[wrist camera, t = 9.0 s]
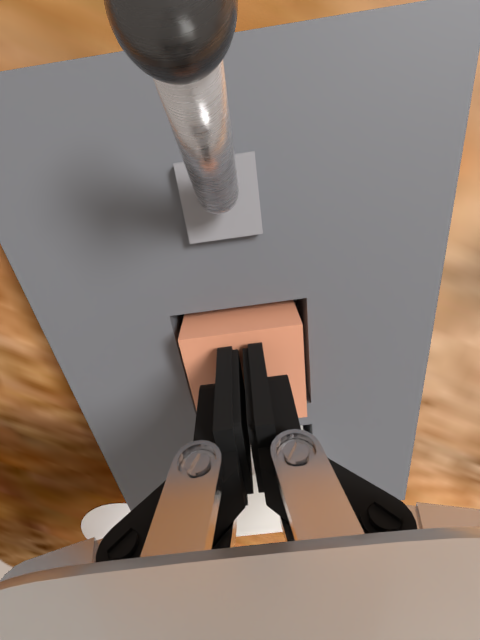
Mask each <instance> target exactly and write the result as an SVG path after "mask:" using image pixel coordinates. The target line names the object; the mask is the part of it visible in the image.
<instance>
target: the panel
mask: <svg viewBox="0 0 480 640" xmlns="http://www.w3.org/2000/svg"><path fill="white" fill-rule="evenodd" d="M479 48H480V0H426V1H420V2H414V3H408V4H402V5H396V6H390V7H384V8H378V9H372V10H366V11H360V12H354V13H348V14H342V15H336V16H330V17H324V18H318V19H312V20H306V21H300V22H294V23H288V24H282V25H276V26H271V27H265V28H259V29H253V30H247V31H241V32H235V33H234V35H233V39H232V42H231V45H230V47H229V49H228V52H227V53H226V55H225V57H224V58H223V65H224V73H225V81H226V89H227V97H228V106H229V114H230V122H231V130H232V139H233V147H234V155H235V163H236V172H237V180H238V188H239V195H238V200H237V202H236V204H235V205H234V207H233V208H232V209H231V210H230V211H228V212H226V213H223V214H212V213H209V212H207V211H206V210H205V209H203V208H202V207H201V205H200V204H199V202H198V200H197V197H196V195H195V192H194V189H193V186H192V184H191V181H190V178H189V175H188V173H187V170H186V167H185V164H184V162H183V159H182V156H181V154H180V151H179V148H178V145H177V143H176V140H175V137H174V134H173V132H172V129H171V126H170V123H169V121H168V118H167V115H166V113H165V110H164V107H163V104H162V102H161V99H160V96H159V93H158V91H157V88H156V85H155V82H154V80H153V77H151V76H149V75H147V74H146V73H145V72H143V71H142V70H141V69H140V68H138V67H137V66H136V65H135V64H134V63H133V62H132V60H131V59H130V58H129V57H128V56H127V55H126V53H125V52H124V51H121V52H115V53H109V54H103V55H97V56H91V57H85V58H79V59H73V60H67V61H61V62H55V63H49V64H43V65H37V66H31V67H25V68H19V69H13V70H7V71H1V72H0V244H1V246H2V248H3V250H4V252H5V254H6V256H7V258H8V260H9V262H10V264H11V266H12V268H13V271H14V273H15V275H16V277H17V279H18V281H19V283H20V285H21V287H22V289H23V291H24V293H25V295H26V297H27V299H28V301H29V303H30V305H31V307H32V310H33V312H34V314H35V316H36V318H37V320H38V322H39V324H40V326H41V328H42V330H43V332H44V334H45V336H46V338H47V340H48V342H49V344H50V346H51V349H52V351H53V353H54V355H55V357H56V359H57V361H58V363H59V365H60V367H61V369H62V371H63V373H64V375H65V377H66V379H67V381H68V383H69V386H70V388H71V390H72V392H73V394H74V396H75V398H76V400H77V402H78V404H79V406H80V408H81V410H82V412H83V414H84V416H85V418H86V420H87V422H88V425H89V427H90V429H91V431H92V433H93V435H94V437H95V439H96V441H97V443H98V445H99V447H100V449H101V451H102V453H103V455H104V457H105V459H106V461H107V464H108V466H109V468H110V470H111V472H112V474H113V476H114V478H115V480H116V482H117V484H118V486H119V488H120V490H121V492H122V494H123V496H124V498H125V500H126V503H127V505H128V507H129V509H130V511H132V510H133V509H134V508H135V507H136V506H137V505H138V504H140V503H141V502H142V501H143V500H144V499H145V498H146V497H147V496H149V495H150V494H151V493H152V492H153V491H154V490H155V489H156V488H158V487H159V486H160V485H161V484H162V483H163V482H164V481H165V480H166V479H167V476H168V473H169V470H170V467H171V464H172V461H173V459H174V457H175V455H176V453H177V452H178V451H179V450H180V449H181V448H182V447H183V446H185V445H186V444H188V443H191V442H193V439H194V430H195V421H196V413H197V411H196V407H195V404H194V400H193V396H192V392H191V389H190V385H189V381H188V377H187V373H186V370H185V366H184V362H183V358H182V355H181V351H180V347H179V343H178V337H179V333H180V330H181V326H182V322H183V318H184V314H189V313H197V312H204V311H212V310H219V309H227V308H235V307H242V306H250V305H257V304H265V303H272V302H280V301H287V300H293V301H294V303H295V306H296V308H297V311H298V314H299V316H300V319H301V321H302V324H303V342H304V361H305V381H306V400H307V417H302V418H298V419H299V423H300V425H303V429H304V431H307V432H309V433H311V434H312V435H314V436H315V437H316V438H317V439H318V441H319V442H320V444H321V446H322V448H323V450H324V452H325V454H326V456H327V458H329V459H331V460H332V461H334V462H336V463H338V464H339V465H341V466H343V467H344V468H346V469H348V470H350V471H351V472H353V473H355V474H356V475H358V476H360V477H362V478H363V479H365V480H367V481H369V482H370V483H372V484H374V485H375V486H377V487H379V488H381V489H382V490H384V491H386V492H387V493H389V494H391V495H393V496H394V497H396V498H397V499H399V500H405V494H406V488H407V482H408V476H409V470H410V464H411V458H412V452H413V446H414V440H415V434H416V428H417V422H418V416H419V410H420V404H421V398H422V392H423V386H424V380H425V374H426V368H427V362H428V356H429V350H430V344H431V337H432V331H433V325H434V319H435V313H436V307H437V301H438V295H439V289H440V283H441V277H442V271H443V265H444V259H445V253H446V247H447V241H448V235H449V229H450V223H451V217H452V211H453V205H454V199H455V193H456V187H457V181H458V175H459V169H460V163H461V157H462V151H463V145H464V139H465V133H466V127H467V121H468V115H469V109H470V103H471V97H472V91H473V85H474V79H475V73H476V67H477V61H478V54H479Z"/></svg>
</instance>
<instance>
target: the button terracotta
mask: <svg viewBox="0 0 480 640" xmlns="http://www.w3.org/2000/svg"><path fill="white" fill-rule="evenodd" d="M259 342H262V346H263V352H264V358H265V365H266V371H267V377H270V376H279V375H288V378H289V382H290V386H291V390H292V394H293V398H294V402H295V406H296V410H297V415H298V418H302V417H307V400H306V381H305V361H304V342H303V324H302V321H301V319H300V316H299V314H298V311H297V308H296V306H295V303H294V301H293V300H287V301H280V302H272V303H265V304H257V305H250V306H242V307H235V308H227V309H219V310H212V311H204V312H197V313H189V314H184V318H183V322H182V326H181V330H180V333H179V337H178V343H179V347H180V351H181V355H182V358H183V362H184V366H185V370H186V373H187V377H188V381H189V385H190V389H191V392H192V396H193V400H194V404H195V407H196V411H197V404H198V395H199V388H200V385H206V384H214V383H215V378H216V359H217V348H220V347H228V346H232V349H233V350H235V349H238V352H239V358H240V364H241V370H242V376H243V382H244V367H243V351H242V349H243V348H248V344H251V343H259ZM244 388H245V383H244Z"/></svg>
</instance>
